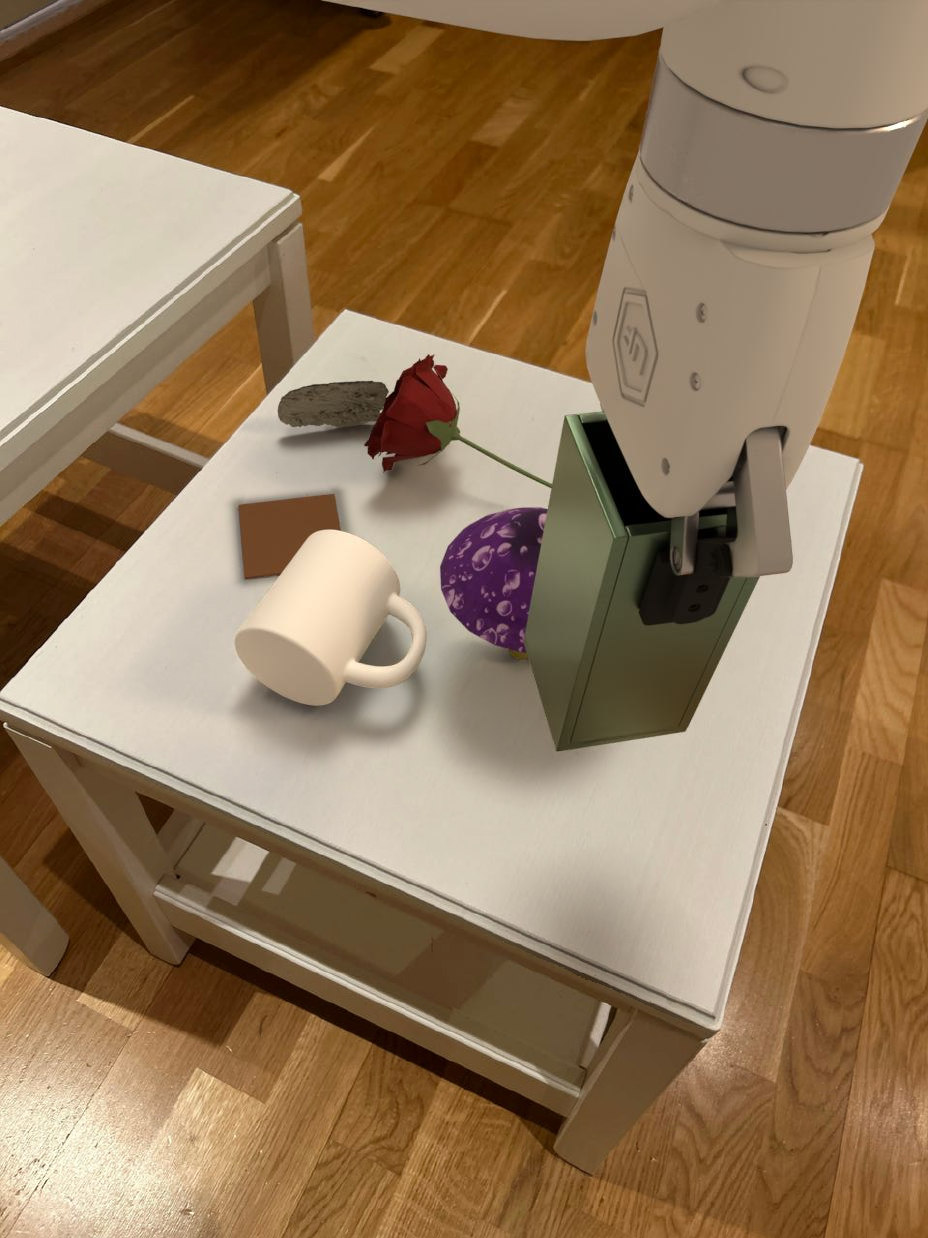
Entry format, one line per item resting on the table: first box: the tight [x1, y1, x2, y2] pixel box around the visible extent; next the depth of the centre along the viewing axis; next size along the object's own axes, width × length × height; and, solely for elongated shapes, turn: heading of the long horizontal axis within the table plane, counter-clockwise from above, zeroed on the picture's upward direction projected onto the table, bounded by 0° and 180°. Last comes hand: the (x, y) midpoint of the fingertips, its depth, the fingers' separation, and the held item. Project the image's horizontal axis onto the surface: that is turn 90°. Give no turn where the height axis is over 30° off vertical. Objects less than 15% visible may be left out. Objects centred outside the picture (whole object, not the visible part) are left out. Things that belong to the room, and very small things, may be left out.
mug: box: [234, 530, 427, 707], centre depth 66 cm, size 12×10×8 cm
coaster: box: [237, 493, 342, 580], centre depth 76 cm, size 8×8×1 cm
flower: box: [363, 353, 552, 489], centre depth 77 cm, size 11×10×30 cm
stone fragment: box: [277, 380, 390, 428], centre depth 82 cm, size 10×1×5 cm, turn 102°
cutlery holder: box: [524, 410, 761, 753], centre depth 43 cm, size 7×7×16 cm
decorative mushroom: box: [439, 506, 548, 660], centre depth 64 cm, size 12×12×15 cm
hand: (646, 544), depth 41 cm, fingers closed on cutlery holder, 7 cm apart
